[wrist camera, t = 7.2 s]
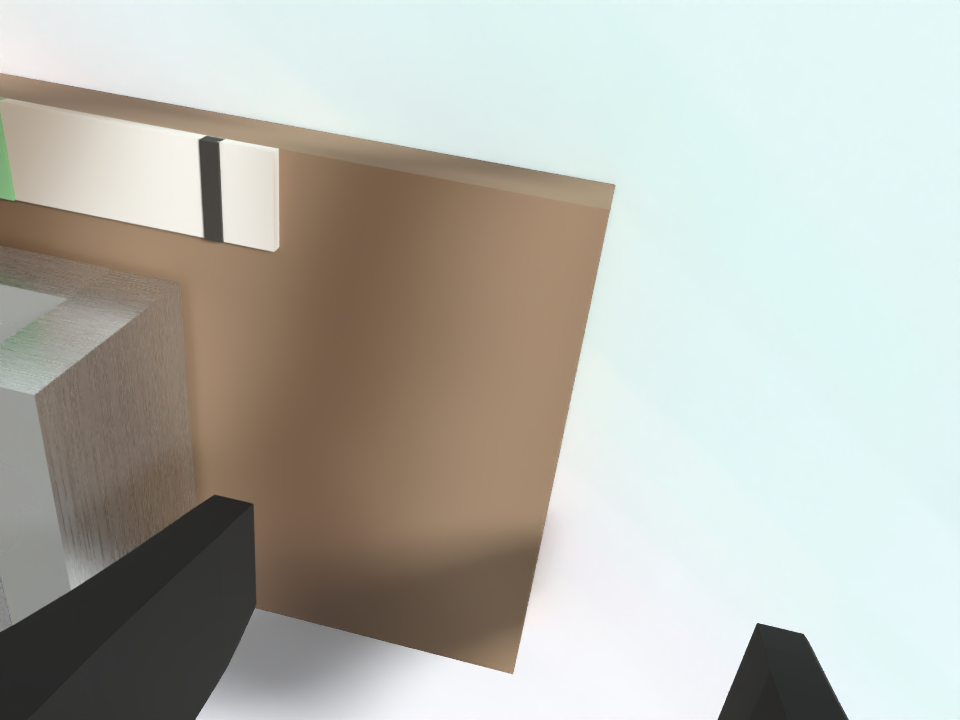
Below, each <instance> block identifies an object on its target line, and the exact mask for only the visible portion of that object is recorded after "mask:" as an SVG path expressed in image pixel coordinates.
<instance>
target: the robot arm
mask: <svg viewBox="0 0 960 720" xmlns="http://www.w3.org/2000/svg"><path fill="white" fill-rule="evenodd" d="M255 607H256V568H255V533H254V504H253V503H249V502H245V501H240V500H236V499H232V498H228V497H223V496H219V495H215V494H214V495H213V496H211V497H210V498H208V499H207V500H205V501H204V502H202V503H201V504H199V505H198V506H196V507H195V508H193V509H192V510H190V511H189V512H187V513H186V514H184V515H183V516H181V517H180V518H179V519H177V520H176V521H174V522H173V523H171V524H170V525H168V526H167V527H166V528H164V529H163V530H161V531H160V532H158V533H157V534H155V535H154V536H152V537H151V538H150V539H148V540H147V541H145V542H144V543H142V544H141V545H139V546H138V547H136V548H135V549H133V550H132V551H130V552H129V553H128V554H126V555H124V556H123V557H121V558H120V559H118V560H117V561H115V562H114V563H112V564H111V565H109V566H108V567H106V568H105V569H103V570H102V571H100V572H99V573H97V574H96V575H94V576H92V577H91V578H89V579H88V580H86V581H85V582H83V583H82V584H80V585H79V586H77V587H75V588H74V589H72V590H71V591H69V592H67V593H66V594H64V595H62V596H61V597H59V598H57V599H56V600H54V601H52V602H51V603H49V604H48V605H46V606H44V607H43V608H41V609H39V610H38V611H36V612H34V613H33V614H31V615H29V616H28V617H26V618H24V619H23V620H21V621H19V622H18V623H16V624H14V625H12V626H11V627H9V628H7V629H5V630H4V631H2V632H0V720H195V719H196V717H197V716H198V714H199V713H200V711H201V709H202V708H203V706H204V704H205V703H206V701H207V700H208V698H209V696H210V695H211V693H212V691H213V690H214V688H215V687H216V685H217V683H218V682H219V680H220V678H221V677H222V675H223V673H224V672H225V670H226V668H227V666H228V664H229V662H230V660H231V658H232V656H233V654H234V652H235V650H236V648H237V646H238V644H239V642H240V640H241V637H242V635H243V633H244V631H245V629H246V626H247V624H248V622H249V620H250V618H251V615H252V613H253V611H254V609H255ZM718 720H848V718H847V716H846V714H845V712H844V710H843V708H842V706H841V704H840V702H839V701H838V699H837V697H836V695H835V693H834V691H833V689H832V687H831V685H830V683H829V681H828V679H827V677H826V675H825V673H824V671H823V669H822V667H821V665H820V663H819V661H818V659H817V657H816V655H815V653H814V651H813V649H812V647H811V645H810V643H809V642H808V640H807V638H806V637H805V635H804V634H802V633H797V632H793V631H789V630H785V629H780V628H776V627H772V626H768V625H764V624H759V623H757V625H756V627H755V630H754V632H753V634H752V637H751V639H750V642H749V644H748V647H747V649H746V652H745V654H744V656H743V659H742V661H741V664H740V666H739V669H738V671H737V674H736V676H735V679H734V681H733V683H732V686H731V688H730V691H729V693H728V696H727V698H726V701H725V703H724V705H723V708H722V710H721V713H720V715H719V718H718Z"/></svg>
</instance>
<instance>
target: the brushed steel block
mask: <svg viewBox="0 0 960 720" xmlns="http://www.w3.org/2000/svg"><path fill="white" fill-rule="evenodd" d="M195 507H196V496H195V483H194V469H193V456H192V442H191V429H190V416H189V402H188V389H187V375H186V362H185V348H184V335H183V322H182V308H181V295H180V283H178V282H173V281H168V280H163V279H159V278H154V277H149V276H144V275H140V274H135V273H130V272H125V271H120V270H116V269H111V268H106V267H101V266H97V265H92V264H87V263H82V262H78V261H73V260H68V259H63V258H58V257H54V256H49V255H44V254H39V253H35V252H30V251H25V250H20V249H15V248H11V247H6V246H1V245H0V578H1V582H2V586H3V590H4V594H5V598H6V602H7V607H8V611H9V615H10V619H11V623H12V625H14V624H16V623H18V622H19V621H21V620H23V619H24V618H26V617H28V616H29V615H31V614H33V613H34V612H36V611H38V610H39V609H41V608H43V607H44V606H46V605H48V604H49V603H51V602H52V601H54V600H56V599H57V598H59V597H61V596H62V595H64V594H66V593H67V592H69V591H71V590H72V589H74V588H75V587H77V586H79V585H80V584H82V583H83V582H85V581H86V580H88V579H89V578H91V577H92V576H94V575H96V574H97V573H99V572H100V571H102V570H103V569H105V568H106V567H108V566H109V565H111V564H112V563H114V562H115V561H117V560H118V559H120V558H121V557H123V556H124V555H126V554H128V553H129V552H130V551H132V550H133V549H135V548H136V547H138V546H139V545H141V544H142V543H144V542H145V541H147V540H148V539H150V538H151V537H152V536H154V535H155V534H157V533H158V532H160V531H161V530H163V529H164V528H166V527H167V526H168V525H170V524H171V523H173V522H174V521H176V520H177V519H179V518H180V517H181V516H183V515H184V514H186V513H187V512H189V511H190V510H192V509H193V508H195Z"/></svg>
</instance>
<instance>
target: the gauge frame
mask: <svg viewBox="0 0 960 720" xmlns="http://www.w3.org/2000/svg"><path fill="white" fill-rule="evenodd" d="M614 189H615V185H614V184H608V183H602V182H597V181H591V180H586V179H580V178H575V177H569V176H564V175H558V174H553V173H547V172H542V171H536V170H531V169H525V168H520V167H514V166H509V165H503V164H498V163H492V162H487V161H481V160H476V159H470V158H465V157H459V156H454V155H448V154H443V153H437V152H432V151H426V150H421V149H415V148H410V147H404V146H399V145H393V144H388V143H382V142H377V141H371V140H365V139H360V138H354V137H349V136H343V135H338V134H332V133H327V132H321V131H316V130H310V129H305V128H299V127H294V126H288V125H283V124H277V123H272V122H266V121H261V120H255V119H250V118H244V117H239V116H233V115H228V114H222V113H217V112H211V111H206V110H200V109H195V108H189V107H184V106H178V105H173V104H167V103H162V102H156V101H151V100H145V99H139V98H134V97H128V96H123V95H117V94H112V93H106V92H101V91H95V90H90V89H84V88H79V87H73V86H68V85H62V84H57V83H51V82H46V81H40V80H35V79H29V78H24V77H18V76H13V75H7V74H2V73H0V245H1V246H6V247H11V248H15V249H20V250H25V251H30V252H35V253H39V254H44V255H49V256H54V257H58V258H63V259H68V260H73V261H78V262H82V263H87V264H92V265H97V266H101V267H106V268H111V269H116V270H120V271H125V272H130V273H135V274H140V275H144V276H149V277H154V278H159V279H163V280H168V281H173V282H178V283H180V295H181V308H182V322H183V335H184V348H185V362H186V375H187V389H188V402H189V416H190V429H191V442H192V456H193V469H194V483H195V496H196V506H198V505H199V504H201V503H202V502H204V501H205V500H207V499H208V498H210V497H211V496H213V495H214V494H215V495H219V496H223V497H228V498H232V499H236V500H240V501H245V502H249V503H253V504H254V533H255V568H256V607H255V608H258V609H262V610H266V611H270V612H273V613H277V614H281V615H285V616H289V617H293V618H297V619H301V620H304V621H308V622H312V623H316V624H320V625H324V626H328V627H332V628H336V629H339V630H343V631H347V632H351V633H355V634H359V635H363V636H367V637H370V638H374V639H378V640H382V641H386V642H390V643H394V644H398V645H402V646H405V647H409V648H413V649H417V650H421V651H425V652H429V653H433V654H436V655H440V656H444V657H448V658H452V659H456V660H460V661H464V662H468V663H471V664H475V665H479V666H483V667H487V668H491V669H495V670H499V671H502V672H506V673H510V674H513V672H514V667H515V663H516V658H517V653H518V649H519V644H520V639H521V635H522V630H523V625H524V621H525V616H526V611H527V606H528V601H529V597H530V592H531V587H532V582H533V577H534V573H535V568H536V563H537V558H538V553H539V549H540V544H541V539H542V534H543V529H544V525H545V520H546V515H547V510H548V505H549V501H550V496H551V491H552V486H553V481H554V477H555V472H556V467H557V462H558V457H559V453H560V448H561V443H562V438H563V433H564V429H565V424H566V419H567V414H568V410H569V405H570V400H571V395H572V390H573V386H574V381H575V376H576V371H577V366H578V362H579V357H580V352H581V347H582V342H583V338H584V333H585V328H586V323H587V318H588V314H589V309H590V304H591V299H592V294H593V290H594V285H595V280H596V275H597V270H598V266H599V261H600V256H601V251H602V246H603V242H604V237H605V232H606V227H607V222H608V218H609V213H610V208H611V203H612V198H613V194H614Z"/></svg>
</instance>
